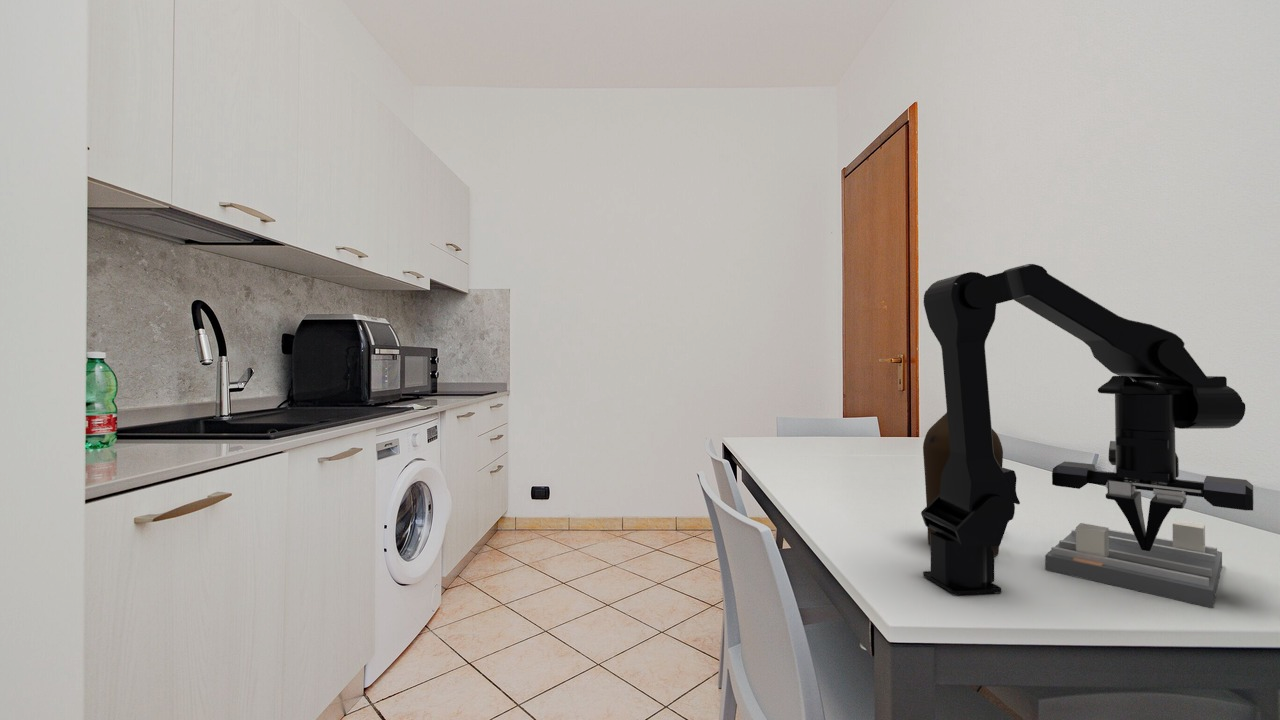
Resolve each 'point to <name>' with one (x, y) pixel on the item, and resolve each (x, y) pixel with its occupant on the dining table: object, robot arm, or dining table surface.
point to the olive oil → (945, 460)
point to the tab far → (1189, 536)
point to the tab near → (1092, 539)
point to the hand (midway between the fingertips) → (1146, 550)
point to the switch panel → (1143, 567)
